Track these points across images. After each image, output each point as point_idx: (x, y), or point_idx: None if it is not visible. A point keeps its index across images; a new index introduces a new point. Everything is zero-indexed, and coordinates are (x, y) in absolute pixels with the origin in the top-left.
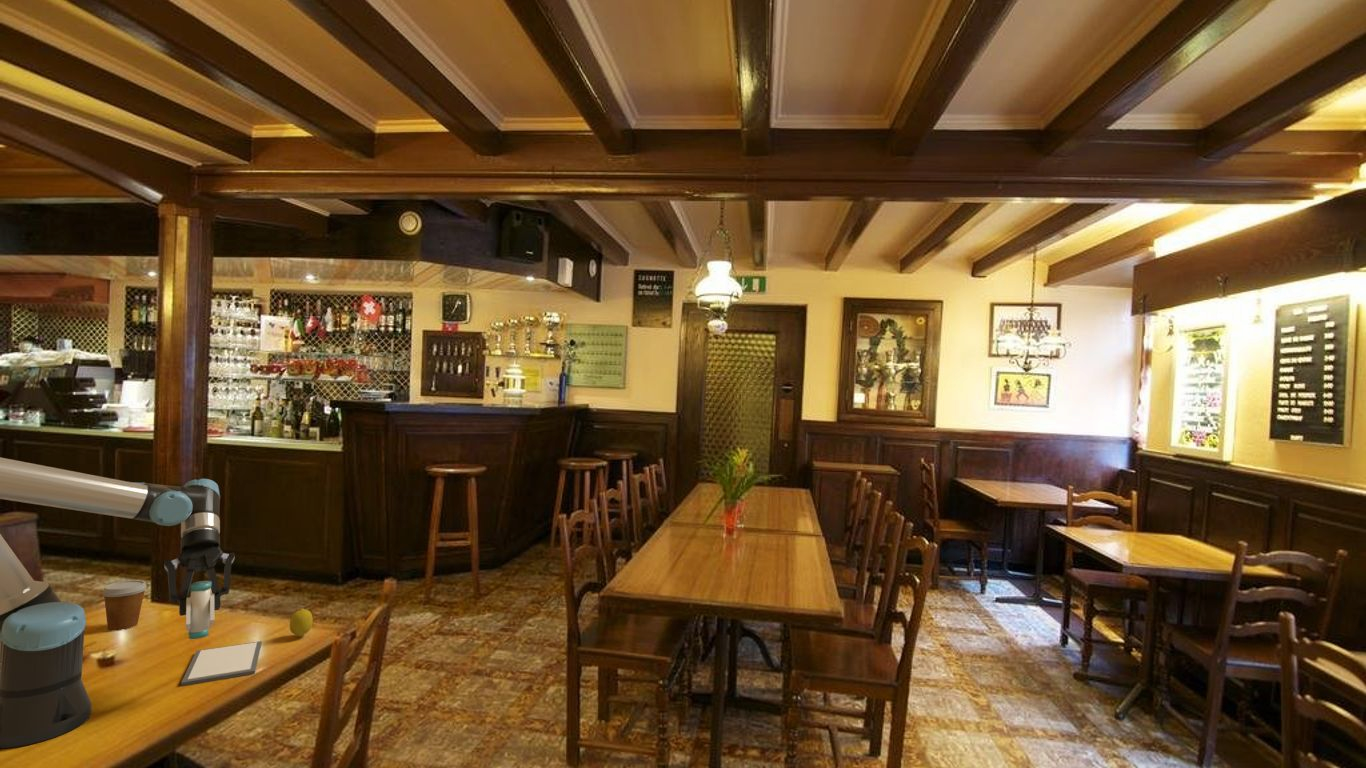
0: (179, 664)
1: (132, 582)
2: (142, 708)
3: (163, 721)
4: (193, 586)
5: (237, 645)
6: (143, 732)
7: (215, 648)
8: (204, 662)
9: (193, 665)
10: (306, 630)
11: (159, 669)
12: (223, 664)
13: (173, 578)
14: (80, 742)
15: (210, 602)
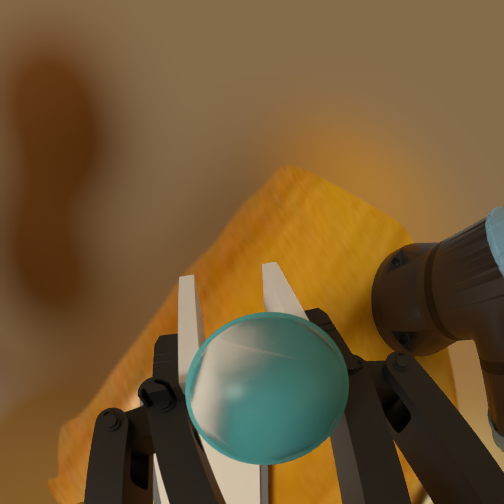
0: (287, 487)
1: None
2: None
3: (263, 241)
4: (316, 326)
5: None
6: (282, 216)
7: None
8: (242, 469)
9: (260, 466)
10: (81, 502)
11: (316, 475)
12: (203, 446)
13: (462, 451)
14: (353, 226)
15: (196, 336)
